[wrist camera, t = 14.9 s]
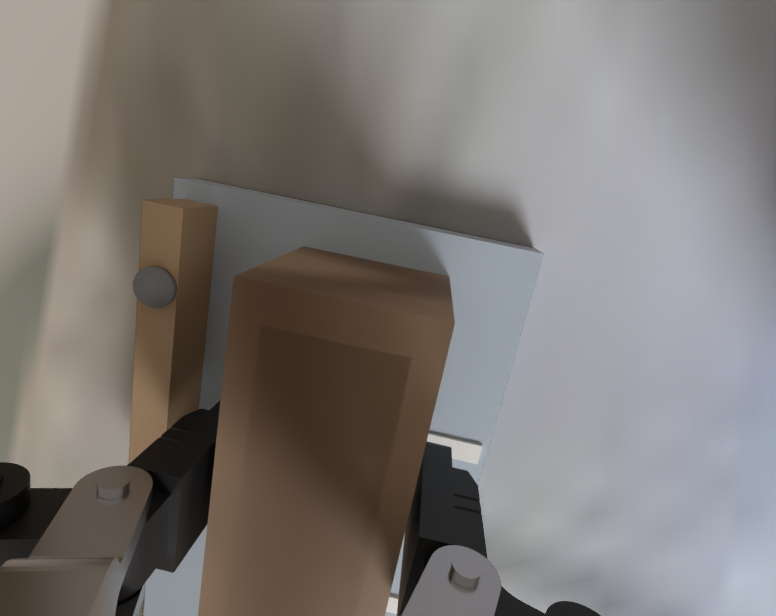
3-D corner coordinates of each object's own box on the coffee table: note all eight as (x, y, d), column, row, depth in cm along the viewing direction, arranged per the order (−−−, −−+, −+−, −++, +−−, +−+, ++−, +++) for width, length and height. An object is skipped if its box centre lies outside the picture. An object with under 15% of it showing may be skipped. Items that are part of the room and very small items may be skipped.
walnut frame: (449, 276, 12) (455, 323, 8) (380, 576, 15) (356, 733, 11) (304, 246, 13) (233, 276, 8) (260, 546, 15) (190, 688, 11)
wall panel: (534, 248, 13) (563, 265, 10) (377, 813, 19) (366, 930, 16) (196, 178, 14) (125, 175, 11) (149, 750, 20) (96, 853, 17)
